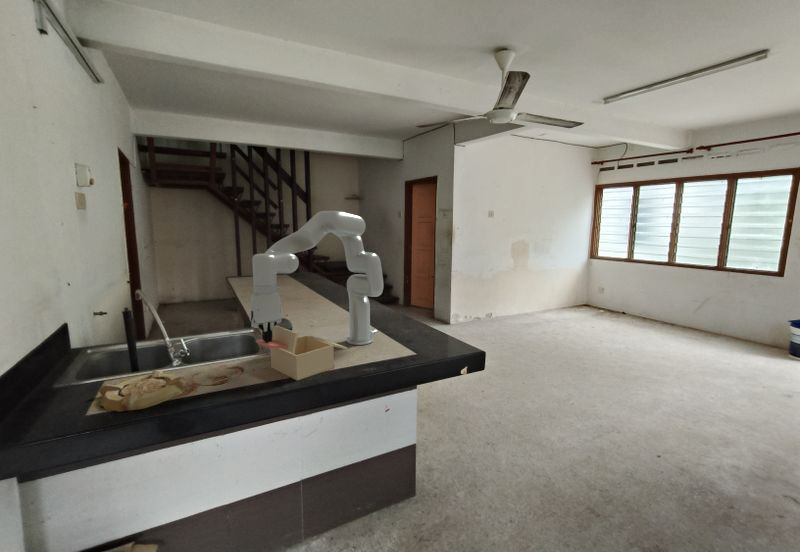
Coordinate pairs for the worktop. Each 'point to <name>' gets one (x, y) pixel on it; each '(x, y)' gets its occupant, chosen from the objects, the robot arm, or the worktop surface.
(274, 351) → the carton
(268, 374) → the worktop surface
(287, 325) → the grey vase with twigs
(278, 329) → the flap
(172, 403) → the worktop surface
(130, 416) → the worktop surface
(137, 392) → the tan brown flat piece
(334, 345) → the rear flap
